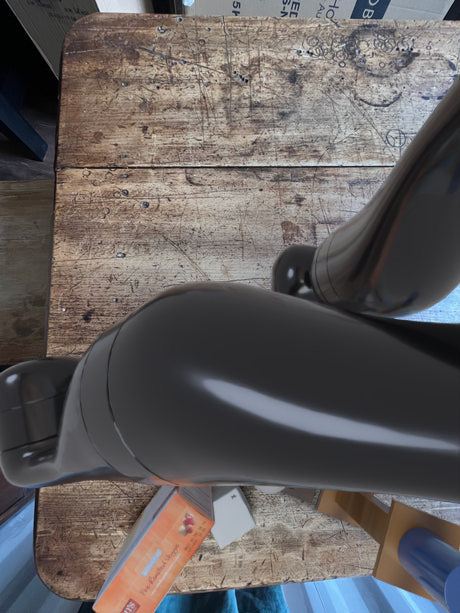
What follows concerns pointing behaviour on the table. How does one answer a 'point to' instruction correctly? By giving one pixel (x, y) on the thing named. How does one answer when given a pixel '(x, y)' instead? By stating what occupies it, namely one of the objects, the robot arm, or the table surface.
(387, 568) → the stand
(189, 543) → the cracker box
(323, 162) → the table surface
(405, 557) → the blue plastic cylinder
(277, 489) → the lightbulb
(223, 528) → the product box
